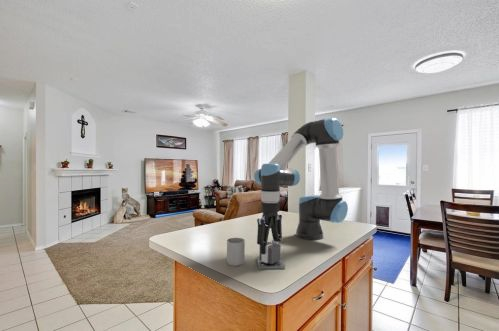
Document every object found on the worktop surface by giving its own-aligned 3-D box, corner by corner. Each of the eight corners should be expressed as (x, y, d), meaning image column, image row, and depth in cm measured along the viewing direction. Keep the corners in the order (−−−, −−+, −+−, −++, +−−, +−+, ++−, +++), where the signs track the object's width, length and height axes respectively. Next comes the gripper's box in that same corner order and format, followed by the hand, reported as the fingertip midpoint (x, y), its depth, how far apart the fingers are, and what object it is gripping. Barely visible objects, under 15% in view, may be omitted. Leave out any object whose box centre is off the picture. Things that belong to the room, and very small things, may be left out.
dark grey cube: (268, 256, 95) (268, 241, 95) (280, 260, 91) (280, 244, 91) (259, 260, 90) (259, 244, 90) (271, 264, 86) (271, 247, 86)
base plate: (280, 258, 96) (280, 248, 96) (285, 268, 86) (285, 256, 86) (256, 259, 95) (256, 248, 95) (258, 269, 85) (258, 257, 85)
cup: (230, 267, 87) (230, 244, 87) (222, 258, 96) (222, 237, 96) (247, 264, 90) (247, 241, 90) (238, 255, 99) (238, 235, 99)
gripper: (276, 198, 101) (276, 251, 100) (247, 203, 87) (246, 263, 86) (290, 200, 96) (290, 255, 95) (262, 205, 82) (262, 269, 81)
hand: (269, 259), depth 91 cm, fingers closed on dark grey cube, 6 cm apart
